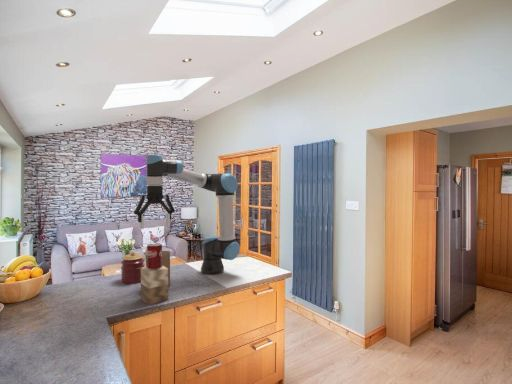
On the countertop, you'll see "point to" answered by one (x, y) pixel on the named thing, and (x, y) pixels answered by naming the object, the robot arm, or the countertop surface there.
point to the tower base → (154, 294)
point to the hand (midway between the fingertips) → (155, 227)
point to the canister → (132, 268)
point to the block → (165, 262)
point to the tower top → (154, 277)
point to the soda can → (154, 256)
